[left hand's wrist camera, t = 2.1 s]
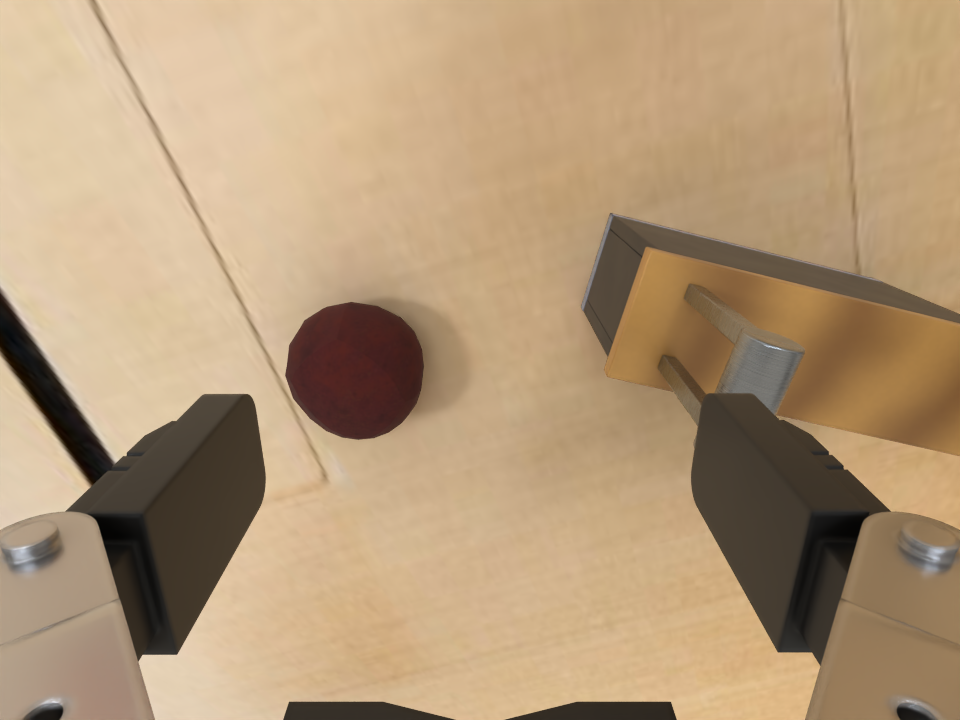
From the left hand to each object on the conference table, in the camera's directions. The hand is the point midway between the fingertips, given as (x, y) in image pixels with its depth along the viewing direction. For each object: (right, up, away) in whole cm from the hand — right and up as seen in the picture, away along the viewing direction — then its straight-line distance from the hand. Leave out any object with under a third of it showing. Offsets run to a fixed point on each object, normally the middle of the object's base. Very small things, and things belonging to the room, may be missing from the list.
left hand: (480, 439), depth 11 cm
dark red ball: (-7, +2, +27) cm, 28 cm away
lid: (+14, +2, +16) cm, 22 cm away
